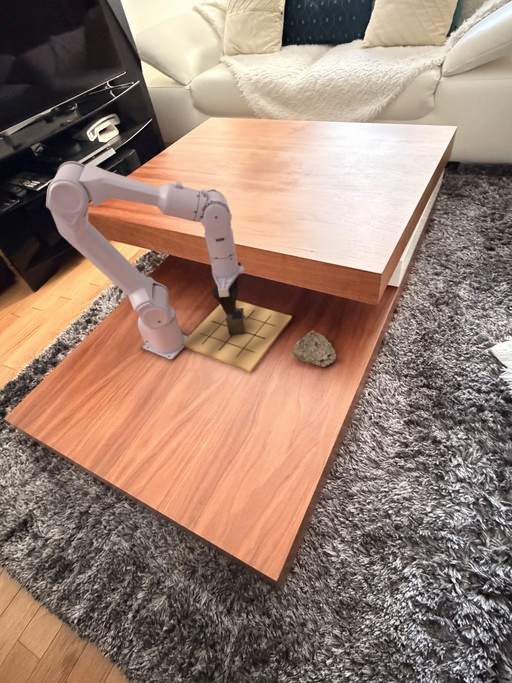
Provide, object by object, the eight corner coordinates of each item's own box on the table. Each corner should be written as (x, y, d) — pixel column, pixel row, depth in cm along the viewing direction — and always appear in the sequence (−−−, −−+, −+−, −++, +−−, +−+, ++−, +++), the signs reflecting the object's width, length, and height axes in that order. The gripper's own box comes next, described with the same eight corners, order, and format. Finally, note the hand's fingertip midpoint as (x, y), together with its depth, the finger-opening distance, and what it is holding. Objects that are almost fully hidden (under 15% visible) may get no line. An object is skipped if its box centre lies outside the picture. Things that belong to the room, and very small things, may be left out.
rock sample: (331, 368, 79) (310, 330, 79) (302, 381, 84) (283, 345, 84) (349, 354, 87) (330, 320, 88) (322, 366, 92) (304, 334, 92)
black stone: (245, 334, 94) (242, 318, 91) (229, 335, 94) (225, 319, 91) (246, 323, 97) (243, 307, 93) (230, 324, 97) (227, 309, 94)
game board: (181, 345, 95) (181, 343, 94) (227, 299, 106) (226, 296, 106) (250, 372, 86) (250, 369, 85) (292, 318, 98) (292, 315, 97)
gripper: (239, 269, 76) (247, 322, 85) (242, 233, 86) (250, 283, 95) (203, 272, 76) (216, 324, 85) (211, 236, 87) (221, 285, 96)
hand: (231, 303), depth 90 cm, fingers open, 7 cm apart
